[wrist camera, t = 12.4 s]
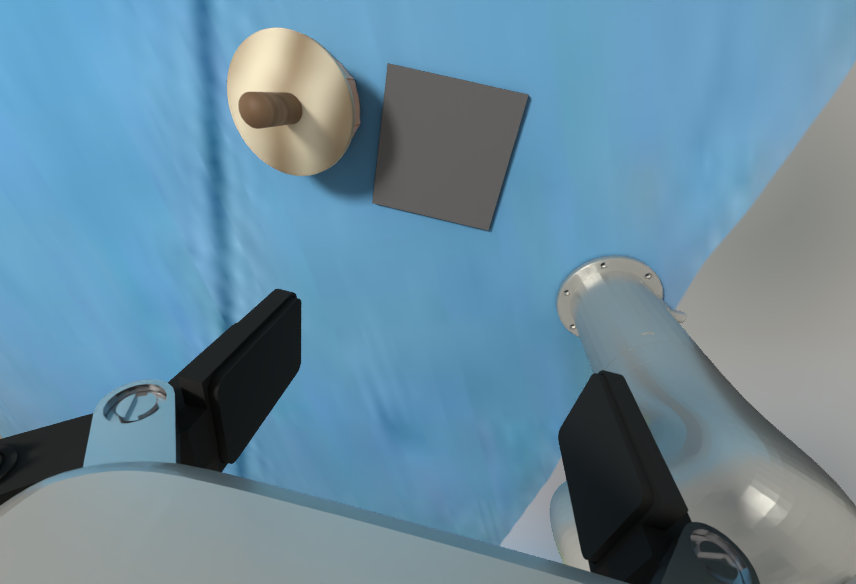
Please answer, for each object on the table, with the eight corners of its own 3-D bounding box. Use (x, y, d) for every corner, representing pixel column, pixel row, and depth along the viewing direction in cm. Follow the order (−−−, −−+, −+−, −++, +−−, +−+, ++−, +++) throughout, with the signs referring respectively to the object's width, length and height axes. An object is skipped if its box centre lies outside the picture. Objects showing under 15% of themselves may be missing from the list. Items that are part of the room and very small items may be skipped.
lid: (363, 50, 32) (334, 39, 26) (347, 188, 39) (320, 204, 33) (229, 12, 32) (170, -7, 26) (236, 156, 39) (189, 166, 33)
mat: (528, 94, 36) (528, 94, 36) (488, 229, 44) (488, 230, 43) (389, 63, 37) (387, 63, 36) (373, 201, 44) (372, 202, 44)
